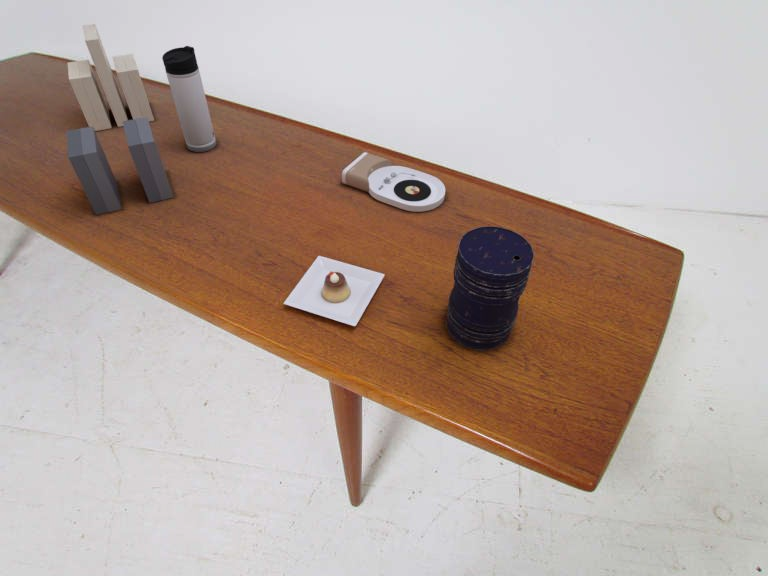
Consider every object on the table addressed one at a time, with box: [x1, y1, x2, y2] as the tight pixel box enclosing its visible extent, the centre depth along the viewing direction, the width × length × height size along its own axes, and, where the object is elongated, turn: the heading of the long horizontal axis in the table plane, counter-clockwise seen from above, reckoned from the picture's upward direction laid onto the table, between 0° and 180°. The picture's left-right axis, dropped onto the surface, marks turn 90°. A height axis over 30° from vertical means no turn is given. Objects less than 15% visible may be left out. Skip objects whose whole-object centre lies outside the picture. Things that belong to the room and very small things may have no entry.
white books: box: [67, 53, 155, 132], centre depth 115 cm, size 14×10×12 cm
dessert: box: [283, 255, 386, 327], centre depth 77 cm, size 12×12×5 cm
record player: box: [341, 151, 446, 213], centre depth 99 cm, size 12×3×20 cm
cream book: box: [82, 23, 129, 128], centre depth 112 cm, size 2×10×19 cm, turn 26°
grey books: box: [66, 117, 174, 216], centre depth 93 cm, size 14×10×12 cm
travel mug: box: [161, 45, 217, 153], centre depth 103 cm, size 6×7×20 cm
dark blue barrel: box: [445, 225, 535, 351], centre depth 70 cm, size 10×10×15 cm
